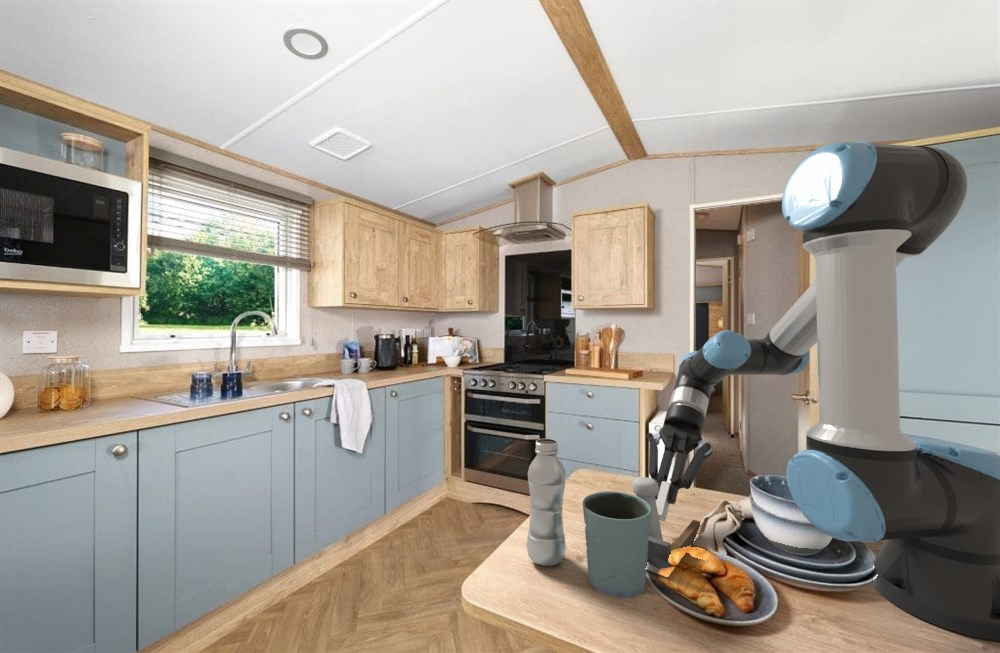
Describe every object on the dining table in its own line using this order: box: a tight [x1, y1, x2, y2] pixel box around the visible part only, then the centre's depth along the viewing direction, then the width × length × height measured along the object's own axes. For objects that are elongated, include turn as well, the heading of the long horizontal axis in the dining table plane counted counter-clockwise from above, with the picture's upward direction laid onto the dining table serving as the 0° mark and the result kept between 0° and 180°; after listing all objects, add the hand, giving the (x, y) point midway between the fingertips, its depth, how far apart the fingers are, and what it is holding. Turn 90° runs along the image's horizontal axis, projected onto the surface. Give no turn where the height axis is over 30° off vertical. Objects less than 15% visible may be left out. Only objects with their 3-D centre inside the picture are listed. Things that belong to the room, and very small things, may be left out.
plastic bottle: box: [526, 438, 567, 567], centre depth 70 cm, size 6×7×20 cm
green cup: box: [582, 490, 651, 599], centre depth 65 cm, size 10×10×12 cm
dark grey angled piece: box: [647, 519, 701, 569], centre depth 76 cm, size 11×18×5 cm, turn 140°
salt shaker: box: [631, 476, 664, 541], centre depth 72 cm, size 6×6×13 cm
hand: (659, 517), depth 78 cm, fingers closed
